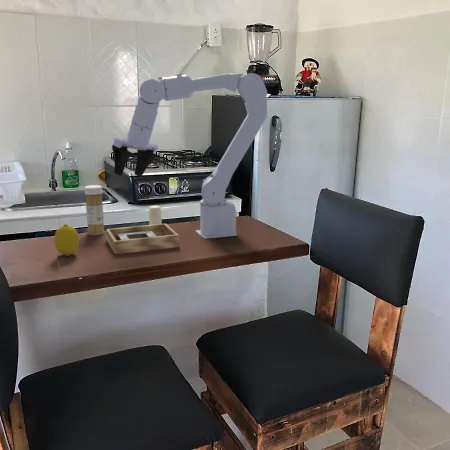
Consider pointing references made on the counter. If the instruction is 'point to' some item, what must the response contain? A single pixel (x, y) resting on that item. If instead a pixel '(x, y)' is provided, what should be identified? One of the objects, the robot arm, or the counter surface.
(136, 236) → the plate
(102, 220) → the sprinkles bottle
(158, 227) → the crate
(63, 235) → the lemon
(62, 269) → the counter surface
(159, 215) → the peg
